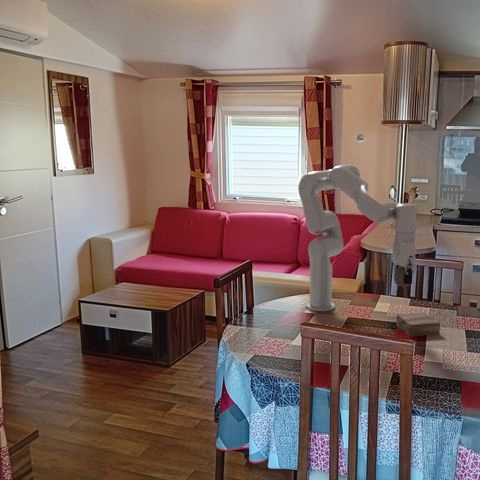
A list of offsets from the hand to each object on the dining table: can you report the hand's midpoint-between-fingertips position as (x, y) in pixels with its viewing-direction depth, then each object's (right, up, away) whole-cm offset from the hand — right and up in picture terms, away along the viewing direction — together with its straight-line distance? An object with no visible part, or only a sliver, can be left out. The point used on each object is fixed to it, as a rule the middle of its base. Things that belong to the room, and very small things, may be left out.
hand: (403, 281), depth 210 cm
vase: (0, -2, 0) cm, 2 cm away
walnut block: (+6, -20, +2) cm, 21 cm away
